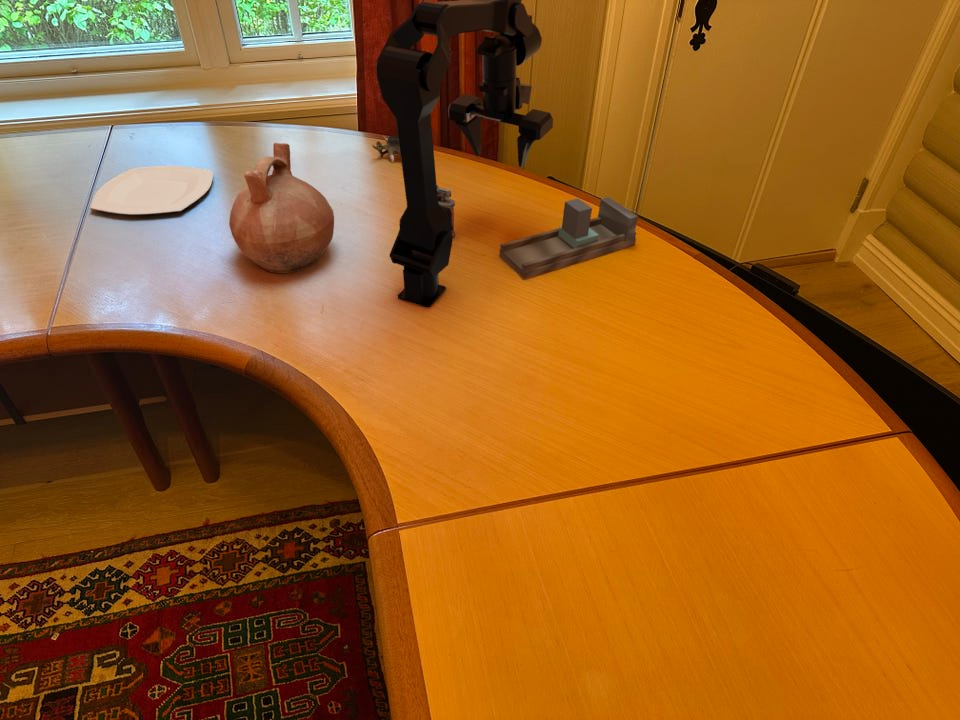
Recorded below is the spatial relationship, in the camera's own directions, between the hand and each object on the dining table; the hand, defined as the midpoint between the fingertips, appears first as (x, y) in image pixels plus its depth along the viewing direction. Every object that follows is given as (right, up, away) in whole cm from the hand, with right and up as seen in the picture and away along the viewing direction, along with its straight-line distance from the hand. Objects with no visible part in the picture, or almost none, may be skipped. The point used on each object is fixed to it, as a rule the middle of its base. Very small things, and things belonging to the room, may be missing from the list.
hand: (499, 160), depth 114 cm
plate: (-74, -2, +18) cm, 77 cm away
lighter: (-13, -12, +8) cm, 19 cm away
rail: (+13, -17, +4) cm, 21 cm away
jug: (-40, -18, 0) cm, 44 cm away
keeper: (+15, -14, +3) cm, 21 cm away
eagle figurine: (-24, +11, +34) cm, 43 cm away
